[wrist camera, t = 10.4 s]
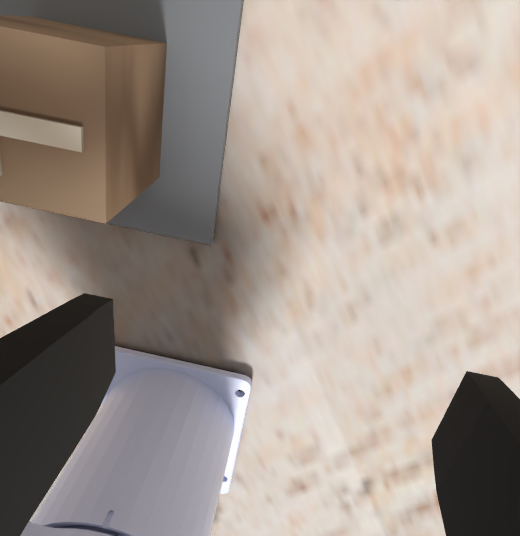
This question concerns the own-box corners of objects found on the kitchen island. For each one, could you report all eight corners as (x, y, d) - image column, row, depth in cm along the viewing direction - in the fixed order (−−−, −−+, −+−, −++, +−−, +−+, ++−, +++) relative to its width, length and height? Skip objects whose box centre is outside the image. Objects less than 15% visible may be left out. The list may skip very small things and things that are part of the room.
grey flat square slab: (212, 241, 20) (210, 245, 19) (-2, 196, 20) (-8, 199, 20) (246, -24, 15) (244, -26, 14) (-38, -77, 15) (-47, -80, 15)
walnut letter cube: (159, 177, 18) (104, 225, 14) (42, 153, 18) (-50, 192, 14) (167, 42, 16) (103, 46, 11) (32, 16, 16) (-84, 10, 11)
